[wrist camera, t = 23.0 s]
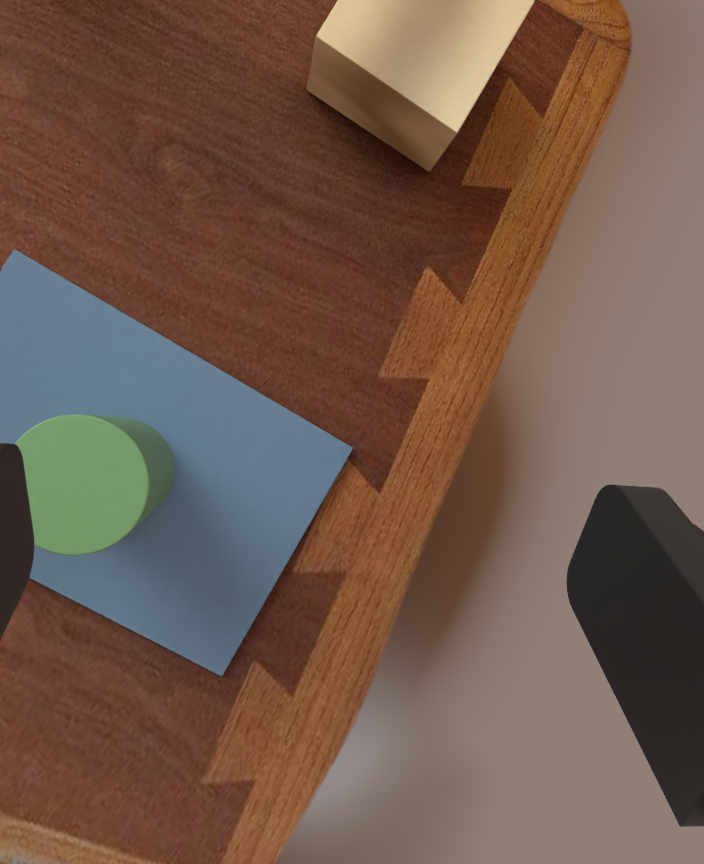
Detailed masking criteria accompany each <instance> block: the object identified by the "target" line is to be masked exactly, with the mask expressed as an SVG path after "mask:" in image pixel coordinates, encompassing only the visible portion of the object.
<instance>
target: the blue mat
mask: <svg viewBox="0 0 704 864" xmlns="http://www.w3.org/2000/svg"><path fill="white" fill-rule="evenodd" d="M69 414H82V415H96V416H110V417H124V418H131V419H136V420H139V421H142V422H144V423H146V424H148V425H149V426H151V427H152V428H154V429H155V430H156V431H157V432H159V433H160V435H161V436H162V437H163V438H164V439H165V441H166V442H167V444H168V446H169V448H170V450H171V452H172V455H173V460H174V469H175V470H174V479H173V483H172V486H171V489H170V491H169V493H168V495H167V497H166V498H165V500H164V501H163V502H162V503H161V504H160V506H159V507H157V508H156V509H155V510H154V511H153V512H152V513H151V514H150V515H149V516H148V517H146V518H145V519H144V520H143V521H142V522H141V523H140V524H139V525H138V526H137V527H135V528H134V529H133V530H132V531H131V532H130V533H129V534H128V535H127V536H125V537H124V538H123V539H122V540H121V541H119V542H118V543H116V544H115V545H113V546H111V547H109V548H107V549H105V550H102V551H99V552H96V553H92V554H88V555H79V556H70V555H61V554H56V553H52V552H49V551H46V550H44V549H42V548H39V547H37V546H36V545H34V558H33V564H32V569H31V573H30V577H29V578H30V579H32V580H34V581H36V582H38V583H40V584H42V585H44V586H46V587H48V588H50V589H52V590H54V591H56V592H58V593H60V594H62V595H63V596H65V597H67V598H69V599H71V600H73V601H75V602H77V603H79V604H81V605H83V606H85V607H87V608H89V609H91V610H93V611H95V612H97V613H99V614H101V615H103V616H105V617H106V618H108V619H110V620H112V621H114V622H116V623H118V624H120V625H122V626H124V627H126V628H128V629H130V630H132V631H134V632H136V633H138V634H140V635H142V636H144V637H146V638H147V639H149V640H151V641H153V642H155V643H157V644H159V645H161V646H163V647H165V648H167V649H169V650H171V651H173V652H175V653H177V654H179V655H181V656H183V657H185V658H187V659H188V660H190V661H192V662H194V663H196V664H198V665H200V666H202V667H204V668H206V669H208V670H210V671H212V672H214V673H216V674H218V675H220V676H223V674H224V672H225V670H226V669H227V667H228V665H229V663H230V662H231V660H232V658H233V656H234V655H235V653H236V651H237V649H238V648H239V646H240V644H241V642H242V641H243V639H244V637H245V636H246V634H247V632H248V630H249V629H250V627H251V625H252V623H253V622H254V620H255V618H256V616H257V615H258V613H259V611H260V609H261V608H262V606H263V604H264V603H265V601H266V599H267V597H268V596H269V594H270V592H271V590H272V589H273V587H274V585H275V583H276V582H277V580H278V578H279V576H280V575H281V573H282V571H283V570H284V568H285V566H286V564H287V563H288V561H289V559H290V557H291V556H292V554H293V552H294V550H295V549H296V547H297V545H298V543H299V542H300V540H301V538H302V537H303V535H304V533H305V531H306V530H307V528H308V526H309V524H310V523H311V521H312V519H313V517H314V516H315V514H316V512H317V510H318V509H319V507H320V505H321V503H322V502H323V500H324V498H325V497H326V495H327V493H328V491H329V490H330V488H331V486H332V484H333V483H334V481H335V479H336V477H337V476H338V474H339V472H340V470H341V469H342V467H343V465H344V464H345V462H346V460H347V458H348V457H349V455H350V453H351V451H352V450H353V447H351V446H349V445H348V444H346V443H344V442H342V441H341V440H339V439H337V438H336V437H334V436H332V435H331V434H329V433H327V432H325V431H324V430H322V429H320V428H319V427H317V426H315V425H313V424H312V423H310V422H308V421H307V420H305V419H303V418H302V417H300V416H298V415H296V414H295V413H293V412H291V411H290V410H288V409H286V408H285V407H283V406H281V405H279V404H278V403H276V402H274V401H273V400H271V399H269V398H267V397H266V396H264V395H262V394H261V393H259V392H257V391H256V390H254V389H252V388H250V387H249V386H247V385H245V384H244V383H242V382H240V381H239V380H237V379H235V378H233V377H232V376H230V375H228V374H227V373H225V372H223V371H221V370H220V369H218V368H216V367H215V366H213V365H211V364H210V363H208V362H206V361H204V360H203V359H201V358H199V357H198V356H196V355H194V354H193V353H191V352H189V351H187V350H186V349H184V348H182V347H181V346H179V345H177V344H175V343H174V342H172V341H170V340H169V339H167V338H165V337H164V336H162V335H160V334H158V333H157V332H155V331H153V330H152V329H150V328H148V327H147V326H145V325H143V324H141V323H140V322H138V321H136V320H135V319H133V318H131V317H129V316H128V315H126V314H124V313H123V312H121V311H119V310H118V309H116V308H114V307H112V306H111V305H109V304H107V303H106V302H104V301H102V300H101V299H99V298H97V297H95V296H94V295H92V294H90V293H89V292H87V291H85V290H83V289H82V288H80V287H78V286H77V285H75V284H73V283H72V282H70V281H68V280H66V279H65V278H63V277H61V276H60V275H58V274H56V273H55V272H53V271H51V270H49V269H48V268H46V267H44V266H43V265H41V264H39V263H37V262H36V261H34V260H32V259H31V258H29V257H27V256H26V255H24V254H22V253H20V252H19V251H17V250H15V249H14V250H13V252H12V253H11V255H10V257H9V258H8V260H7V261H6V263H5V264H4V266H3V268H2V269H1V271H0V443H9V444H15V443H16V441H17V440H18V439H19V438H20V437H21V436H22V435H23V434H24V433H26V432H27V431H28V430H29V429H30V428H32V427H34V426H35V425H37V424H38V423H41V422H43V421H45V420H47V419H50V418H53V417H56V416H62V415H69Z"/></svg>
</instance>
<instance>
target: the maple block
mask: <svg viewBox="0 0 704 864" xmlns="http://www.w3.org/2000/svg"><path fill="white" fill-rule="evenodd" d="M534 2H535V0H338V1H337V3H336V4H335V6H334V8H333V9H332V11H331V12H330V14H329V16H328V17H327V19H326V21H325V22H324V24H323V25H322V27H321V29H320V30H319V32H318V34H317V35H316V40H315V45H314V51H313V57H312V62H311V68H310V74H309V79H308V85H307V91H309V92H310V93H312V94H313V95H315V96H316V97H318V98H319V99H321V100H322V101H324V102H325V103H327V104H328V105H330V106H331V107H333V108H334V109H336V110H337V111H339V112H340V113H342V114H343V115H345V116H346V117H348V118H349V119H351V120H352V121H353V122H355V123H356V124H358V125H359V126H361V127H362V128H364V129H365V130H367V131H368V132H370V133H371V134H373V135H374V136H376V137H377V138H379V139H380V140H382V141H383V142H385V143H386V144H388V145H389V146H391V147H392V148H394V149H395V150H397V151H398V152H400V153H401V154H403V155H404V156H406V157H407V158H409V159H410V160H412V161H413V162H415V163H416V164H418V165H419V166H421V167H422V168H424V169H425V170H427V171H428V172H430V171H431V169H432V168H433V167H434V165H435V164H436V162H437V161H438V160H439V158H440V157H441V155H442V154H443V153H444V151H445V150H446V148H447V147H448V146H449V144H450V143H451V141H452V140H453V139H454V137H455V136H456V134H457V133H458V131H459V130H460V128H461V126H462V125H463V123H464V121H465V119H466V118H467V116H468V114H469V113H470V111H471V109H472V107H473V106H474V104H475V102H476V101H477V99H478V97H479V96H480V94H481V92H482V90H483V89H484V87H485V85H486V84H487V82H488V80H489V78H490V77H491V75H492V73H493V72H494V70H495V68H496V66H497V65H498V63H499V61H500V60H501V58H502V56H503V55H504V53H505V51H506V49H507V48H508V46H509V44H510V43H511V41H512V39H513V37H514V36H515V34H516V32H517V31H518V29H519V27H520V26H521V24H522V22H523V20H524V19H525V17H526V15H527V14H528V12H529V10H530V8H531V7H532V5H533V3H534Z"/></svg>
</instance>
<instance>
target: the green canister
mask: <svg viewBox="0 0 704 864" xmlns="http://www.w3.org/2000/svg"><path fill="white" fill-rule="evenodd" d="M15 445H17V446H18V447H19V449H20V451H21V453H22V457H23V462H24V469H25V476H26V483H27V490H28V497H29V504H30V511H31V518H32V525H33V532H34V545H36V546H37V547H39V548H42V549H44V550H46V551H49V552H52V553H56V554H61V555H70V556H79V555H88V554H92V553H96V552H99V551H102V550H105V549H107V548H109V547H111V546H113V545H115V544H116V543H118V542H119V541H121V540H122V539H123V538H124V537H125V536H127V535H128V534H129V533H130V532H131V531H132V530H133V529H134V528H135V527H137V526H138V525H139V524H140V523H141V522H142V521H143V520H144V519H145V518H146V517H148V516H149V515H150V514H151V513H152V512H153V511H154V510H155V509H156V508H157V507H159V506H160V504H161V503H162V502H163V501H164V500H165V498H166V497H167V495H168V493H169V491H170V489H171V486H172V483H173V479H174V470H175V469H174V460H173V455H172V452H171V450H170V448H169V446H168V444H167V442H166V441H165V439H164V438H163V437H162V436H161V435H160V433H159V432H157V431H156V430H155V429H154V428H152V427H151V426H149V425H148V424H146V423H144V422H142V421H139V420H136V419H131V418H124V417H110V416H96V415H82V414H69V415H62V416H56V417H53V418H50V419H47V420H45V421H43V422H41V423H38V424H37V425H35V426H34V427H32V428H30V429H29V430H28V431H27V432H26V433H24V434H23V435H22V436H21V437H20V438H19V439H18V440H17V441H16V443H15Z"/></svg>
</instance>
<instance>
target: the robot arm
mask: <svg viewBox="0 0 704 864" xmlns="http://www.w3.org/2000/svg"><path fill="white" fill-rule="evenodd" d="M33 558H34V532H33V525H32V518H31V511H30V504H29V497H28V490H27V483H26V476H25V469H24V462H23V457H22V453H21V451H20V449H19V447H18V446H17V445H15V444H9V443H0V639H1V637H2V635H3V633H4V631H5V629H6V627H7V625H8V623H9V621H10V619H11V616H12V614H13V612H14V610H15V608H16V606H17V604H18V602H19V600H20V598H21V595H22V593H23V591H24V589H25V587H26V585H27V582H28V580H29V577H30V573H31V569H32V564H33ZM567 573H568V574H567V592H568V597H569V601H570V604H571V606H572V609H573V611H574V613H575V615H576V617H577V619H578V621H579V623H580V625H581V627H582V629H583V631H584V633H585V635H586V637H587V639H588V641H589V643H590V645H591V647H592V649H593V651H594V654H595V655H596V658H597V660H598V662H599V664H600V666H601V667H602V670H603V672H604V674H605V676H606V678H607V680H608V682H609V684H610V686H611V688H612V690H613V692H614V694H615V696H616V698H617V700H618V702H619V704H620V706H621V708H622V710H623V712H624V714H625V716H626V718H627V720H628V722H629V724H630V726H631V728H632V730H633V732H634V734H635V736H636V738H637V740H638V742H639V745H640V746H641V749H642V750H643V752H644V755H645V757H646V759H647V761H648V763H649V765H650V767H651V769H652V771H653V773H654V775H655V777H656V779H657V781H658V783H659V785H660V787H661V789H662V791H663V793H664V795H665V797H666V799H667V801H668V803H669V805H670V807H671V809H672V811H673V813H674V815H675V817H676V819H677V821H678V823H679V825H680V826H704V531H703V530H701V529H700V528H698V527H697V526H696V525H694V524H692V522H690V520H689V519H688V518H687V516H686V515H685V514H684V513H683V512H682V510H681V509H680V508H679V507H678V506H677V504H676V503H675V502H674V501H673V499H672V498H671V497H670V496H669V495H668V494H667V493H666V492H665V491H664V490H662V489H660V488H652V487H636V486H622V485H607V486H605V487H603V488H602V489H601V490H600V491H599V493H598V495H597V497H596V499H595V501H594V504H593V506H592V508H591V511H590V514H589V516H588V518H587V521H586V523H585V526H584V528H583V531H582V533H581V536H580V538H579V541H578V543H577V546H576V548H575V551H574V553H573V556H572V559H571V561H570V564H569V567H568V572H567Z"/></svg>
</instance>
